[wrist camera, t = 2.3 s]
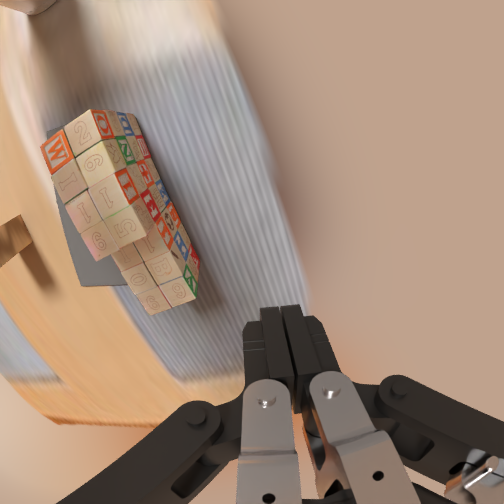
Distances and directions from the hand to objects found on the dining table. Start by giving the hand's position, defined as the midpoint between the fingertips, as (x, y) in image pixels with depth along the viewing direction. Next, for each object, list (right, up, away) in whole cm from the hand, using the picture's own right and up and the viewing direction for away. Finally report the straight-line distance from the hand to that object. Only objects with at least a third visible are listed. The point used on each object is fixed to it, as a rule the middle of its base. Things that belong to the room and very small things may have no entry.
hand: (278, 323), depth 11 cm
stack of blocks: (-14, +10, +22) cm, 28 cm away
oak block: (-39, +6, +22) cm, 46 cm away
